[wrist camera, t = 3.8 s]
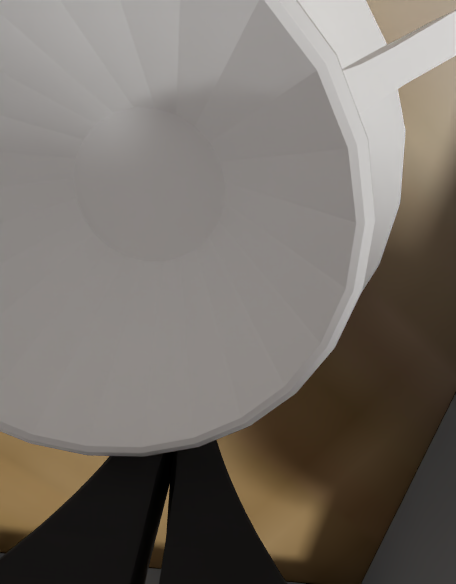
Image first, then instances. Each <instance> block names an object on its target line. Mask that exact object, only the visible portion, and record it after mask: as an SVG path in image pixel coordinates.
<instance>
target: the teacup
mask: <svg viewBox="0 0 456 584" xmlns="http://www.w3.org/2000/svg"><path fill="white" fill-rule="evenodd" d="M454 56H456V10H454V11H452V12H450V13H448V14H446V15H444V16H442V17H440V18H438V19H436V20H434V21H432V22H430V23H428V24H426V25H424V26H422V27H420V28H418V29H416V30H415V31H413V32H411V33H409V34H407V35H405V36H403V37H401V38H399V39H397V40H395V41H393V42H391V43H389V44H387V43H386V41H385V39H384V37H383V35H382V33H381V31H380V29H379V26H378V24H377V22H376V20H375V18H374V16H373V14H372V12H371V10H370V8H369V6H368V4H367V2H366V0H0V431H1V432H3V433H6V434H8V435H11V436H13V437H16V438H18V439H21V440H23V441H26V442H28V443H31V444H36V445H41V446H46V447H50V448H55V449H60V450H65V451H69V452H74V453H79V454H84V455H97V456H143V457H144V456H150V455H156V454H161V453H167V452H173V451H178V450H184V449H189V448H195V447H200V446H202V445H205V444H207V443H209V442H212V441H214V440H217V439H219V438H222V437H224V436H227V435H229V434H231V433H234V432H236V431H239V430H241V429H244V428H246V427H249V426H251V425H252V424H253V423H255V422H256V421H258V420H259V419H261V418H262V417H263V416H265V415H266V414H268V413H269V412H270V411H272V410H273V409H275V408H276V407H277V406H279V405H280V404H282V403H283V402H284V401H286V400H287V399H289V398H290V397H292V396H293V395H294V394H296V393H297V392H298V390H299V389H300V388H301V387H302V386H303V385H304V383H305V382H306V381H307V380H308V379H309V378H310V376H311V375H312V374H313V373H314V372H315V371H316V369H317V368H318V367H319V366H320V365H321V364H322V362H323V361H324V360H325V359H326V358H327V356H328V355H329V354H330V353H331V352H332V351H333V349H334V348H335V346H336V344H337V342H338V340H339V338H340V336H341V334H342V332H343V330H344V328H345V325H346V323H347V321H348V319H349V317H350V315H351V313H352V311H353V309H354V307H355V305H356V302H357V300H358V298H359V296H360V294H361V293H362V291H363V289H364V288H365V286H366V285H367V283H368V282H369V280H370V279H371V277H372V275H373V274H374V272H375V271H376V269H377V268H378V266H379V264H380V261H381V258H382V255H383V252H384V249H385V246H386V243H387V240H388V238H389V235H390V232H391V229H392V226H393V223H394V220H395V217H396V214H397V211H398V208H399V205H400V198H401V185H402V171H403V158H404V144H405V125H404V120H403V115H402V109H401V104H400V98H399V93H398V88H400V87H401V86H403V85H405V84H406V83H408V82H410V81H412V80H413V79H415V78H417V77H419V76H420V75H422V74H424V73H426V72H427V71H429V70H431V69H433V68H435V67H436V66H438V65H440V64H442V63H443V62H445V61H447V60H449V59H450V58H452V57H454Z"/></svg>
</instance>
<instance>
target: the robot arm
mask: <svg viewBox="0 0 456 584" xmlns="http://www.w3.org/2000/svg"><path fill="white" fill-rule="evenodd" d="M169 484H170V489H169V504H168V519H167V534H166V543H165V549H164V555H163V561H162V567H161V574H160V580H159V584H287V582H286V581H285V579H284V578H283V576H282V575H281V573H280V572H279V570H278V568H277V567H276V565H275V563H274V562H273V560H272V558H271V557H270V555H269V553H268V552H267V550H266V548H265V547H264V545H263V543H262V542H261V540H260V538H259V537H258V535H257V533H256V531H255V529H254V527H253V525H252V523H251V522H250V520H249V518H248V516H247V514H246V512H245V510H244V508H243V506H242V504H241V502H240V500H239V497H238V495H237V493H236V491H235V488H234V486H233V484H232V481H231V479H230V477H229V474H228V472H227V469H226V466H225V464H224V461H223V458H222V456H221V453H220V450H219V446H218V443H217V440H214V441H212V442H209V443H207V444H205V445H202V446H200V447H195V448H189V449H184V450H178V451H173V452H167V453H161V454H156V455H150V456H144V457H143V456H109V458H108V459H107V460H106V461H105V462H104V464H103V465H102V466H101V467H100V468H99V469H98V470H97V471H96V472H95V473H94V474H93V476H92V477H91V478H90V479H89V480H88V481H87V482H86V483H85V484H84V485H83V486H82V487H81V488H80V489H79V490H78V491H77V492H76V493H75V494H74V495H73V496H72V497H71V498H70V499H69V500H67V501H66V502H65V503H64V504H63V505H62V506H61V507H60V508H59V509H58V510H57V511H56V512H55V513H53V514H52V515H51V516H50V517H49V518H48V519H47V520H46V521H45V522H43V523H42V524H41V525H40V526H39V527H38V528H36V529H35V530H34V531H33V532H32V533H30V534H29V535H28V536H27V537H25V538H24V539H23V540H22V541H20V542H19V543H18V544H17V545H15V546H14V547H13V548H12V549H11V550H9V551H8V552H7V553H6V554H4V555H3V556H2V557H1V558H0V584H145V581H146V577H147V572H148V567H149V563H150V559H151V555H152V551H153V547H154V543H155V539H156V535H157V531H158V527H159V523H160V519H161V516H162V512H163V508H164V504H165V500H166V496H167V492H168V488H169Z"/></svg>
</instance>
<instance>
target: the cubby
mask: <svg viewBox="0 0 456 584" xmlns="http://www.w3.org/2000/svg"><path fill="white" fill-rule="evenodd" d="M3 555H4V553H0V558H1V557H2V556H3ZM160 574H161V569H154V568H148V572H147V577H146V581H145V584H159V580H160ZM287 584H304V583H294V582H287ZM361 584H456V394H455V396H454V398H453V400H452V402H451V404H450V406H449V408H448V410H447V412H446V414H445V416H444V418H443V420H442V422H441V424H440V426H439V428H438V430H437V432H436V434H435V436H434V438H433V440H432V442H431V444H430V446H429V448H428V450H427V452H426V454H425V456H424V458H423V460H422V462H421V464H420V466H419V468H418V470H417V472H416V474H415V476H414V478H413V480H412V482H411V484H410V486H409V488H408V490H407V492H406V495H405V497H404V499H403V501H402V503H401V505H400V507H399V509H398V511H397V513H396V515H395V517H394V519H393V521H392V523H391V525H390V527H389V529H388V531H387V533H386V535H385V537H384V539H383V541H382V543H381V545H380V547H379V549H378V551H377V553H376V555H375V557H374V559H373V561H372V563H371V565H370V567H369V569H368V571H367V573H366V575H365V577H364V579H363V581H362V583H361Z"/></svg>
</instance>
